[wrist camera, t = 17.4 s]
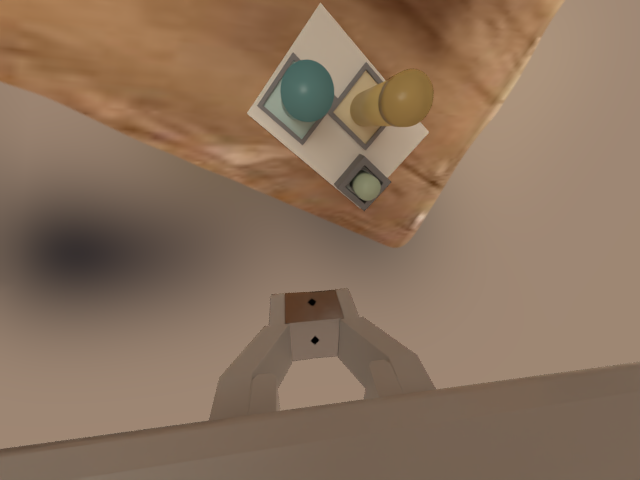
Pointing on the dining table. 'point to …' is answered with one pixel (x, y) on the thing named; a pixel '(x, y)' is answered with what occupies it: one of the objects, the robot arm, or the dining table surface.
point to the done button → (365, 185)
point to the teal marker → (306, 91)
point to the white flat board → (336, 113)
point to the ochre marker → (394, 101)
